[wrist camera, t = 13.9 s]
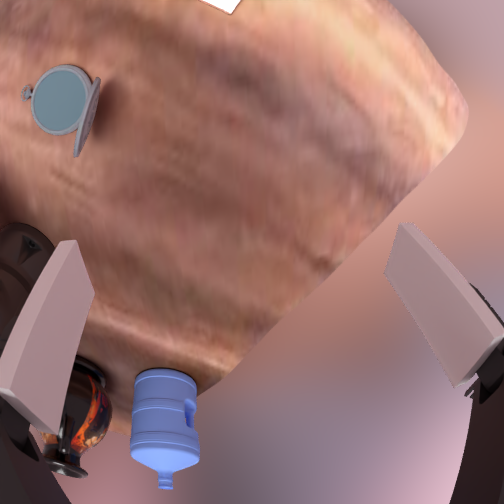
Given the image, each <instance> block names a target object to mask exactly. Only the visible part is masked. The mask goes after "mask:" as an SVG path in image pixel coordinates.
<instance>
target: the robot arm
mask: <svg viewBox="0 0 504 504" xmlns="http://www.w3.org/2000/svg"><path fill="white" fill-rule="evenodd" d="M384 275H385V276H386V278H387V279H388V281H389V282H390V284H391V285H392V287H393V288H394V289H395V291H396V292H397V294H398V296H399V297H400V299H401V300H402V302H403V303H404V305H405V306H406V308H407V309H408V311H409V313H410V314H411V315H412V317H413V319H414V320H415V322H416V324H417V325H418V327H419V328H420V330H421V332H422V333H423V335H424V337H425V338H426V340H427V342H428V343H429V345H430V347H431V348H432V350H433V352H434V353H435V355H436V357H437V359H438V361H439V362H440V364H441V366H442V367H443V369H444V371H445V373H446V375H447V376H448V378H449V380H450V382H451V384H452V386H453V388H456V387H458V386H461V385H463V384H465V383H467V382H468V381H469V380H470V379H471V378H472V377H473V375H474V374H475V373H477V375H478V377H479V378H478V379H477V380H476V381H475V382H474V383H473V384H472V385H471V387H470V388H469V389H468V390H467V391H466V393H465V395H464V396H466V397H467V395H469V394H470V393H471V391H472V390H474V393H473V394H472V395H471V396H470V398H472V399H473V403H472V410H471V417H470V423H469V429H468V434H467V440H466V445H465V449H464V453H463V458H462V462H461V466H460V470H459V473H458V477H457V481H456V484H455V487H454V491H453V494H452V497H451V500H450V503H449V504H504V322H503V321H502V320H501V318H500V317H499V316H498V314H497V313H496V312H495V310H494V309H493V308H492V307H490V304H489V303H488V302H487V300H485V298H484V297H483V295H482V294H481V293H480V292H479V291H478V289H477V288H475V287H474V286H473V285H471V284H470V283H469V282H467V280H466V279H465V278H464V277H463V276H462V275H461V273H460V272H459V271H458V270H457V269H456V268H455V267H454V266H453V264H452V263H451V262H450V261H449V260H448V259H447V258H446V257H445V256H444V254H442V252H441V251H440V250H439V249H438V248H437V247H436V246H435V245H434V244H433V243H432V242H431V241H430V240H429V239H428V237H427V236H426V235H425V234H424V233H423V232H422V231H421V230H419V228H418V227H417V226H416V225H414V223H399V227H398V230H397V234H396V237H395V240H394V243H393V247H392V250H391V253H390V256H389V259H388V262H387V265H386V269H385V272H384ZM94 295H95V292H94V289H93V287H92V284H91V281H90V279H89V276H88V273H87V270H86V267H85V264H84V262H83V259H82V256H81V252H80V249H79V246H78V243H77V240H68V241H60V243H59V244H58V246H57V248H56V249H55V248H54V247H53V245H52V244H51V242H50V241H49V240H48V239H47V238H46V237H45V236H44V235H43V234H42V233H41V232H39V231H38V230H36V229H35V228H33V227H31V226H29V225H26V224H22V223H12V224H9V225H7V226H5V227H4V228H3V229H2V230H1V231H0V504H71V502H70V501H69V499H68V498H67V497H66V495H65V493H64V492H63V490H62V489H61V487H60V485H59V484H58V482H57V480H56V478H55V477H54V475H53V473H52V472H51V470H50V468H49V466H48V464H47V463H46V461H45V459H44V457H43V455H42V453H41V452H40V449H39V447H38V445H37V443H36V441H35V439H34V437H33V435H32V434H31V433H30V431H29V427H30V424H32V425H33V426H34V427H35V428H36V429H37V430H39V431H40V432H45V433H50V434H55V435H58V433H59V427H60V422H61V416H62V411H63V406H64V401H65V397H66V392H67V388H68V384H69V379H70V375H71V371H72V367H73V363H74V360H75V356H76V352H77V349H78V345H79V342H80V338H81V335H82V332H83V328H84V325H85V322H86V319H87V316H88V313H89V310H90V307H91V304H92V301H93V298H94Z"/></svg>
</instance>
